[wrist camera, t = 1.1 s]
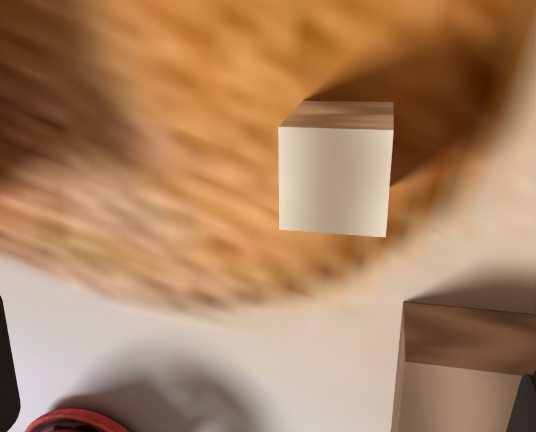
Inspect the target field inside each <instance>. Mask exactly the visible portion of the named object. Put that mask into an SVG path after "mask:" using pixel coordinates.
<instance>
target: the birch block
mask: <svg viewBox="0 0 536 432" xmlns="http://www.w3.org/2000/svg"><path fill="white" fill-rule="evenodd" d="M393 132H394V116H393V102H356V101H302V102H301V103H300V104H299V105H298V106H297V108H296V109H295V110H294V111H293V112H292V113H291V114H290V115H289V116H288V117H287V118H286V119H285V120H284V121H283V122H282V124H281V125H280V126H279V127H278V134H279V223H280V230H292V231H306V232H320V233H333V234H347V235H361V236H375V237H386V226H387V213H388V199H389V186H390V172H391V159H392V145H393Z"/></svg>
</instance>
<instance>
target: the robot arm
mask: <svg viewBox="0 0 536 432" xmlns="http://www.w3.org/2000/svg"><path fill="white" fill-rule="evenodd" d="M20 407H21V405H20V398H19V392H18V386H17V381H16V375H15V369H14V363H13V358H12V352H11V346H10V341H9V335H8V329H7V324H6V318H5V312H4V307H3V301H2V298H1V296H0V432H7V431H8V430H9V429H10V428H11V427H12V426H13V424H14V423H15V422H16V420H17V418H18V415H19V412H20ZM506 432H536V370H535V371H534V374H533V375H531V374H524V375H523V376H522V378H521V381H520V384H519V388H518V391H517V395H516V398H515V402H514V405H513V409H512V412H511V416H510V419H509V423H508V426H507V430H506Z"/></svg>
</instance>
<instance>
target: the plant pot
mask: <svg viewBox="0 0 536 432" xmlns="http://www.w3.org/2000/svg"><path fill="white" fill-rule="evenodd" d="M25 432H129V431H128V430H126V429H125V428H124V427H123V426H121V425H120V424H118V423H117V422H115V421H114V420H112V419H110V418H108V417H106V416H103V415H101V414H98V413H96V412H92V411H88V410H83V409H60V410H56V411H52V412H49V413H46V414H44V415H42V416H40V417H39V418H37V419H36V420H35V421H33V422H32V423H31V424H30V425H29V426H28V427H27V429H26V430H25Z"/></svg>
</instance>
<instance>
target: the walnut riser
mask: <svg viewBox="0 0 536 432" xmlns="http://www.w3.org/2000/svg"><path fill="white" fill-rule="evenodd" d="M535 370H536V315H531V314H520V313H510V312H500V311H490V310H480V309H469V308H459V307H449V306H439V305H429V304H418V303H408V302H403V309H402V320H401V331H400V341H399V352H398V363H397V373H396V384H395V395H394V405H393V416H392V427H391V432H506V430H507V426H508V423H509V419H510V416H511V412H512V409H513V405H514V402H515V398H516V395H517V391H518V388H519V384H520V381H521V378H522V376H523V375H524V374H531V375H533V374H534V371H535Z"/></svg>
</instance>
